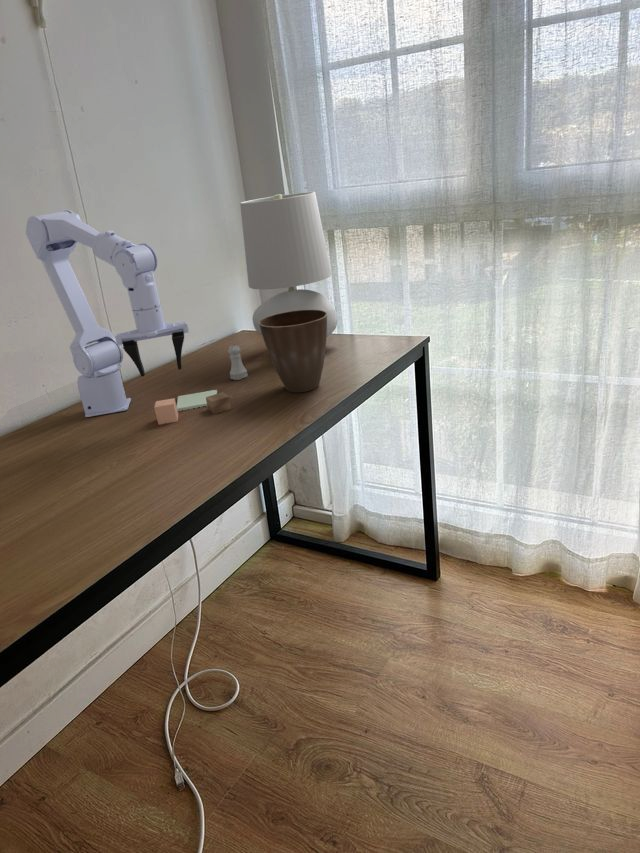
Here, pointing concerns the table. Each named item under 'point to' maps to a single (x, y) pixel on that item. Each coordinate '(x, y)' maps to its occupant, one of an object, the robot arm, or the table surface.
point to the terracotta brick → (166, 411)
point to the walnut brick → (218, 402)
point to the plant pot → (297, 346)
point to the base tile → (193, 400)
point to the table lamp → (286, 254)
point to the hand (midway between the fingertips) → (161, 371)
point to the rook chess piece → (236, 363)
